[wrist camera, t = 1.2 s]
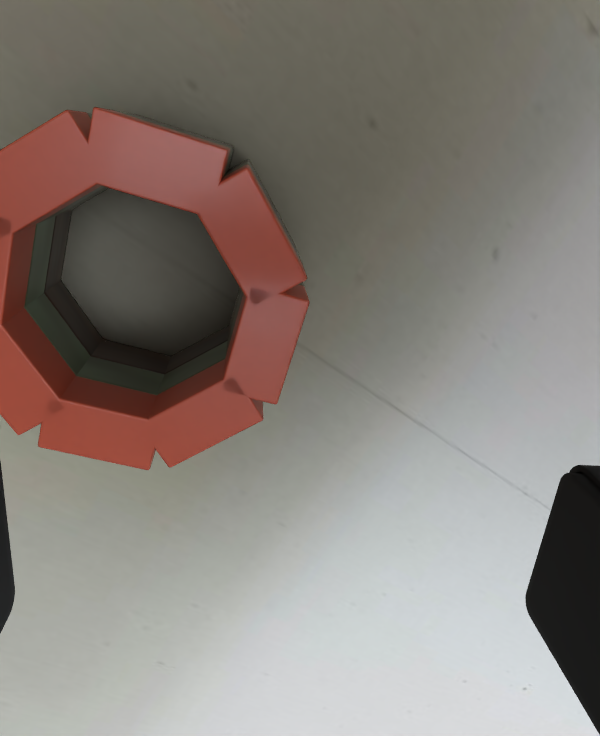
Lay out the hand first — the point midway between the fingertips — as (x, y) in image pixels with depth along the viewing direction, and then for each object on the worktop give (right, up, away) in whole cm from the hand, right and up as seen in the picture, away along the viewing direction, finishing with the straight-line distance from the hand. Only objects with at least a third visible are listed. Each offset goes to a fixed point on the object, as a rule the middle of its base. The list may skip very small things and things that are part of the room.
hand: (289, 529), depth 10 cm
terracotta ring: (-5, +5, +10) cm, 13 cm away
